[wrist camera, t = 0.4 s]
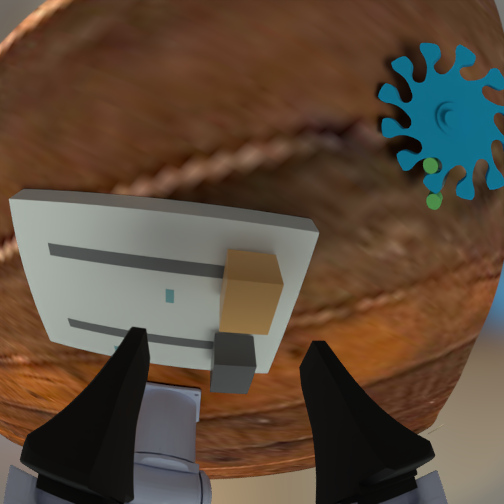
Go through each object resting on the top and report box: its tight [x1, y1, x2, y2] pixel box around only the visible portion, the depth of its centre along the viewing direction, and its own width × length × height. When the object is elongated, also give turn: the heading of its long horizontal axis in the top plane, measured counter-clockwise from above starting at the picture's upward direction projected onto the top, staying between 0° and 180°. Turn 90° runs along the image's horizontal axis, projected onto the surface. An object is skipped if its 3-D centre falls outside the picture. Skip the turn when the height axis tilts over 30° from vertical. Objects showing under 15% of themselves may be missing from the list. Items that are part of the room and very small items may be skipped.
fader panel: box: [9, 189, 319, 373], centre depth 20 cm, size 15×22×2 cm
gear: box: [378, 43, 504, 210], centre depth 13 cm, size 11×6×10 cm
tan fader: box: [219, 249, 284, 335], centre depth 17 cm, size 4×3×3 cm
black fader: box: [210, 333, 257, 394], centre depth 21 cm, size 4×3×3 cm
